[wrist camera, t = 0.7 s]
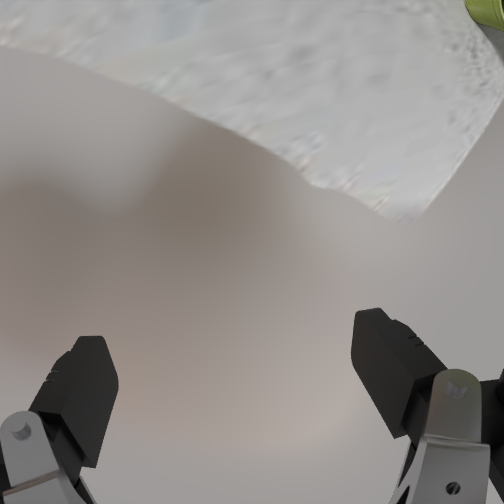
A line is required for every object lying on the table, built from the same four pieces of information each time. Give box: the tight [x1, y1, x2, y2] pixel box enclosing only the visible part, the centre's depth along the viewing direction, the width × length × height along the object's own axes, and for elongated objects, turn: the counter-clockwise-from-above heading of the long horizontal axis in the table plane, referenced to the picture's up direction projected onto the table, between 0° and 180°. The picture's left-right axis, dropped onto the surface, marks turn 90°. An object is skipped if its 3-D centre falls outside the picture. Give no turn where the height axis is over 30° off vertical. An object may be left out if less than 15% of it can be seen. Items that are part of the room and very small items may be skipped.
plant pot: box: [465, 0, 504, 31], centre depth 23 cm, size 9×9×9 cm
